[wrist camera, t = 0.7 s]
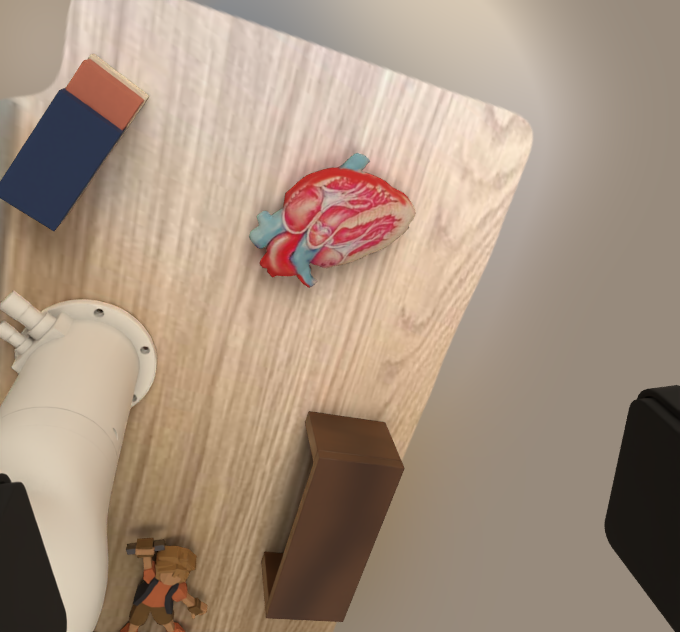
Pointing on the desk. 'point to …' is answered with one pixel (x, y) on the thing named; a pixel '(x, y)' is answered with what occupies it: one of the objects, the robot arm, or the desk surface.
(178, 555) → the character figurine
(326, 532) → the shoe shelf
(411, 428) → the desk surface
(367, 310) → the desk surface
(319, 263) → the anatomical model
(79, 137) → the navy and orange box
